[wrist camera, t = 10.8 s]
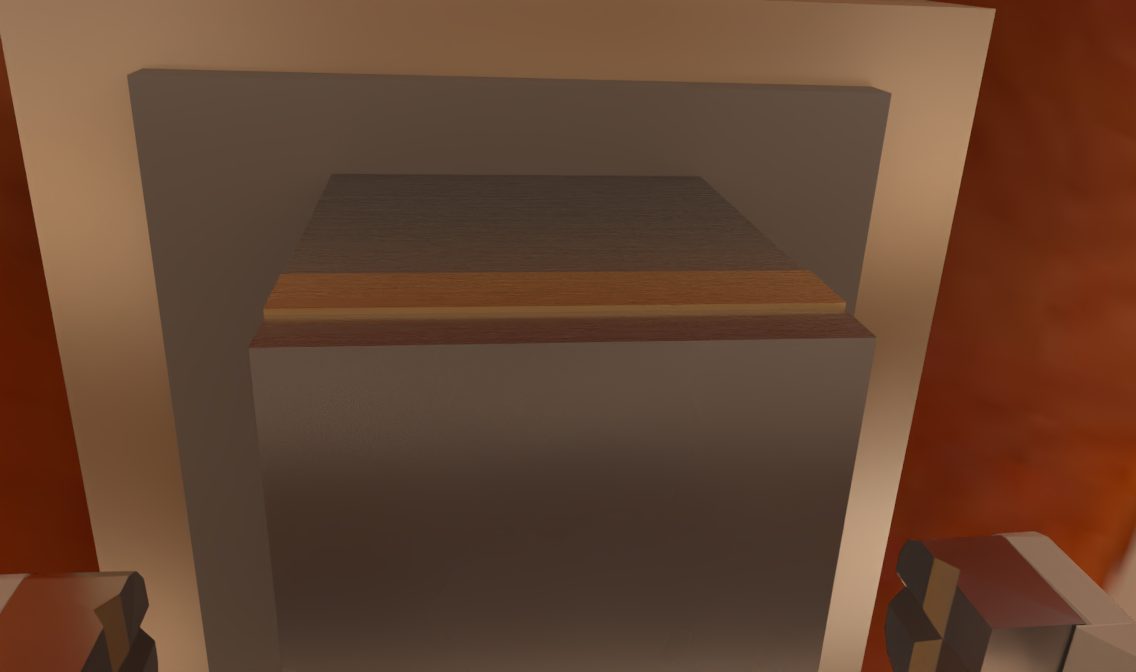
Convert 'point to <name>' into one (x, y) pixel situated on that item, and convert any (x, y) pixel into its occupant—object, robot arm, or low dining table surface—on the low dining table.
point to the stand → (451, 147)
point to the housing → (552, 430)
